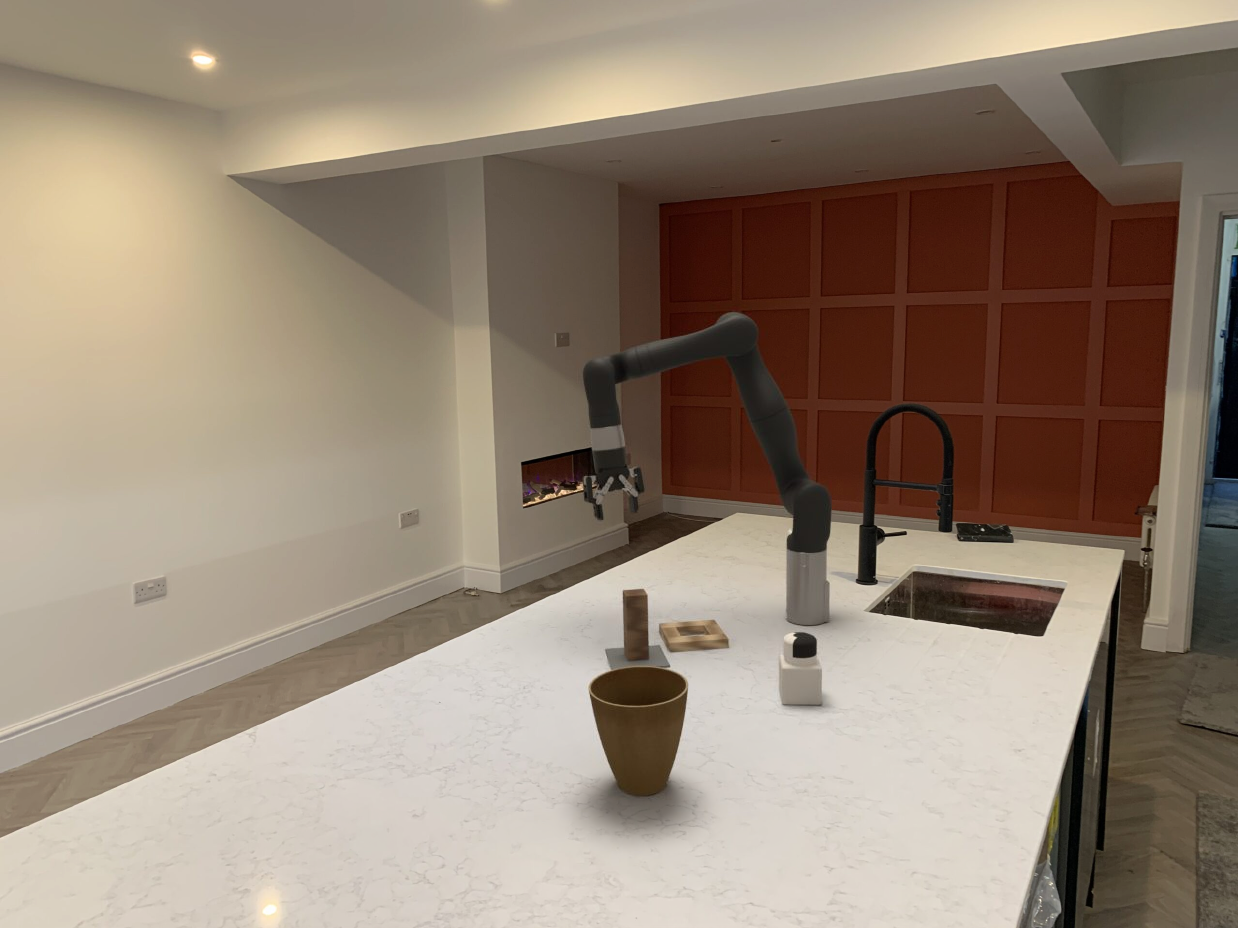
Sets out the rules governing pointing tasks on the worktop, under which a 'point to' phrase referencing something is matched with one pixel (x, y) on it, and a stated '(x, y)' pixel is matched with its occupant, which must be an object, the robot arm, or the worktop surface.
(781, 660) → the medicine bottle
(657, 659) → the grey mat
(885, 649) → the worktop surface
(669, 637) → the oak socket
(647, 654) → the walnut post
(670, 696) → the plant pot
